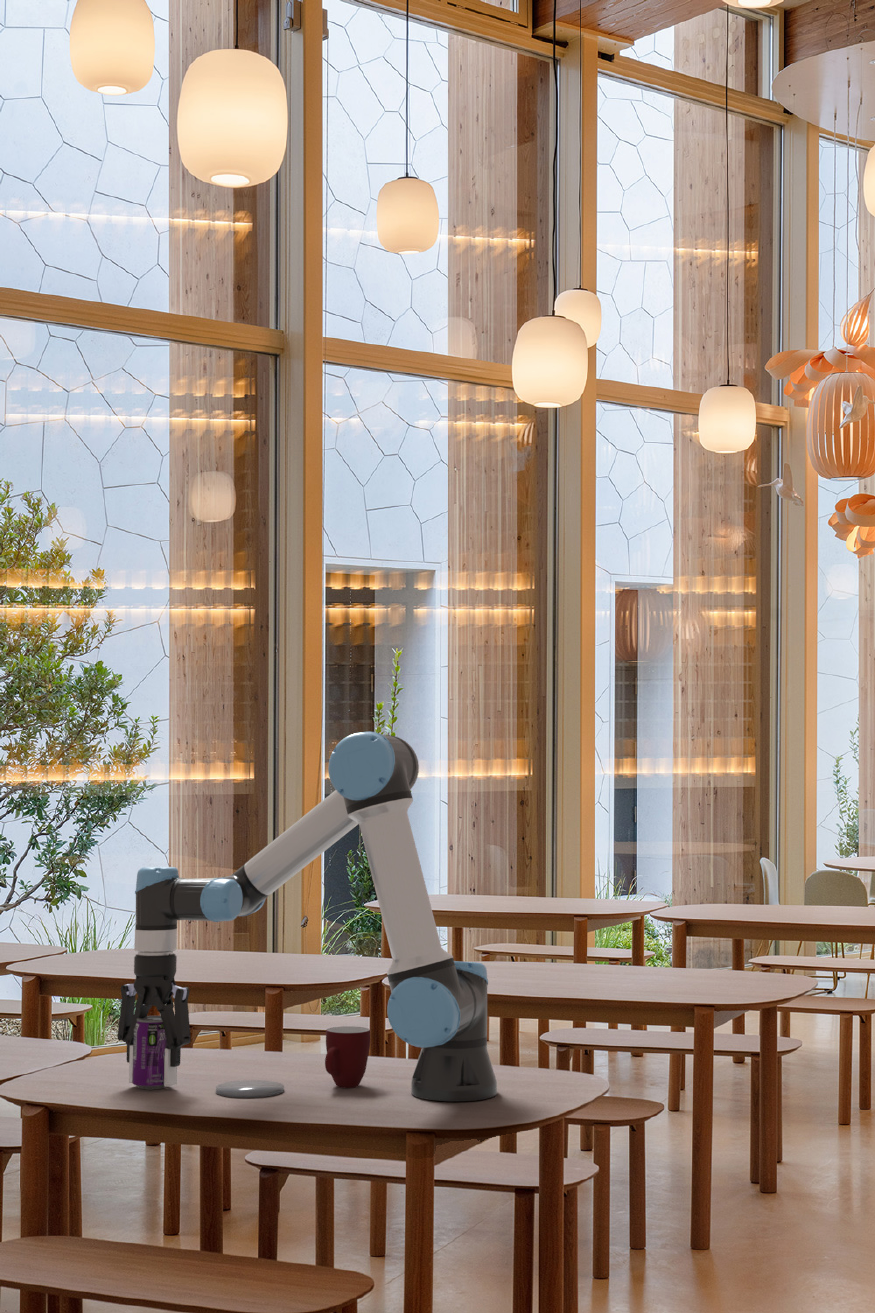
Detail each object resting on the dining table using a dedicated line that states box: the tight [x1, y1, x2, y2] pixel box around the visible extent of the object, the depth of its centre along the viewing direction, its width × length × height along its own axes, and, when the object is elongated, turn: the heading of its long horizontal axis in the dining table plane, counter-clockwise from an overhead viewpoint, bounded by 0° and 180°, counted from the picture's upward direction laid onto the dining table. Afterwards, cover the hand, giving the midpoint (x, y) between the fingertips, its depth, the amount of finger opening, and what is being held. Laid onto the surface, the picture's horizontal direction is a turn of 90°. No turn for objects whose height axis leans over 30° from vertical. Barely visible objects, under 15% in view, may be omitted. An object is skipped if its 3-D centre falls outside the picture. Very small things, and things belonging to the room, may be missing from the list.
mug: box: [324, 1025, 371, 1089], centre depth 252 cm, size 11×8×10 cm
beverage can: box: [132, 1015, 169, 1090], centre depth 250 cm, size 7×7×12 cm
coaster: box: [215, 1079, 285, 1099], centre depth 248 cm, size 12×12×1 cm
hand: (152, 1083), depth 250 cm, fingers closed on beverage can, 7 cm apart
